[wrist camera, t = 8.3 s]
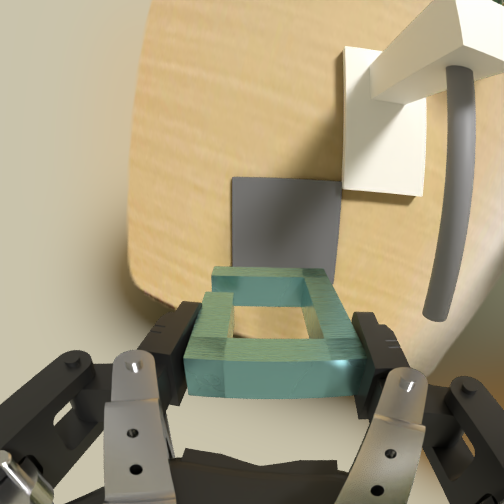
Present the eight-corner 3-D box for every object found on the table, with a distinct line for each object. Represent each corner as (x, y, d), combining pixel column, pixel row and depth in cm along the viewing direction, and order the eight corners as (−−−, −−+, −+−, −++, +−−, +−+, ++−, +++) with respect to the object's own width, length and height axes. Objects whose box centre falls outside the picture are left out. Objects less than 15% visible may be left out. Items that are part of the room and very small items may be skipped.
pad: (341, 181, 25) (342, 182, 24) (332, 282, 27) (333, 284, 27) (233, 176, 26) (232, 177, 25) (233, 277, 28) (232, 278, 28)
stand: (418, 63, 20) (529, 0, 5) (410, 244, 25) (511, 342, 10) (342, 50, 21) (398, -56, 6) (337, 239, 26) (387, 351, 11)
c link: (323, 268, 16) (368, 358, 9) (320, 296, 16) (358, 394, 9) (214, 266, 16) (183, 357, 9) (215, 294, 16) (188, 395, 9)
